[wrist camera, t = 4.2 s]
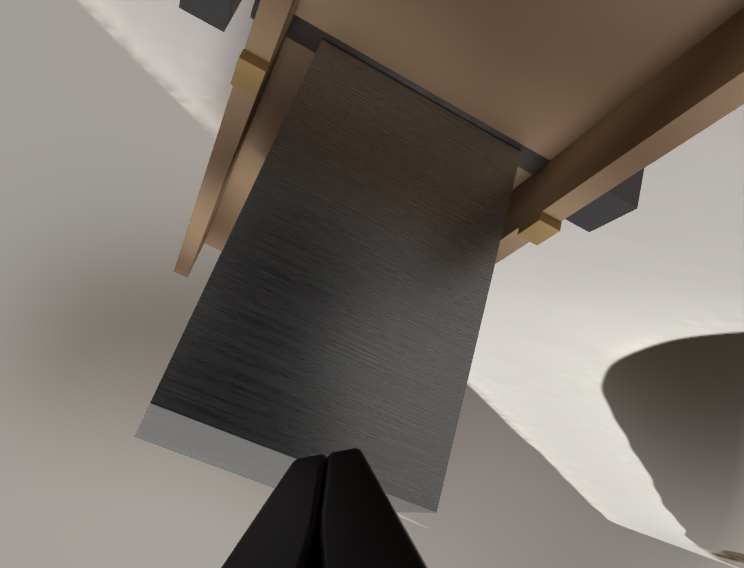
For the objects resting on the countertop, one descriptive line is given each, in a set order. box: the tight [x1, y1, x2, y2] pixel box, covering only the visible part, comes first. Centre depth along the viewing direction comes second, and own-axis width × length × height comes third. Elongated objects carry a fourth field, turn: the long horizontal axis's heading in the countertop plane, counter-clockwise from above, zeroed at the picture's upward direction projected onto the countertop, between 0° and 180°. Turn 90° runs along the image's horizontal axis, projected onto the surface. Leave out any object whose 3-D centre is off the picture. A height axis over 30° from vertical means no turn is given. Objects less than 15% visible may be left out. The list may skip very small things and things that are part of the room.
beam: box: [174, 0, 744, 277], centre depth 16 cm, size 18×8×3 cm, turn 157°
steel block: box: [135, 39, 521, 513], centre depth 14 cm, size 5×5×8 cm
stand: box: [179, 0, 644, 232], centre depth 14 cm, size 4×11×4 cm, turn 67°
